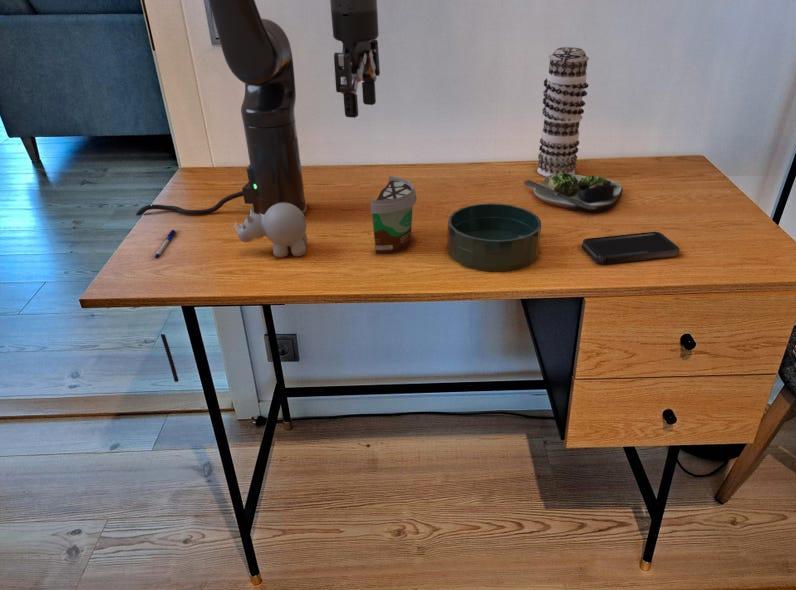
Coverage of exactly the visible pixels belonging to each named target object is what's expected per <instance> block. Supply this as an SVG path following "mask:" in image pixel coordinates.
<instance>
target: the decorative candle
mask: <svg viewBox="0 0 796 590" xmlns="http://www.w3.org/2000/svg"><path fill="white" fill-rule="evenodd" d="M548 59H549V65H548V66H549V67H548V72H547V76H546V78H545V79H544V80H543V86H544V87H545V89H544V90H543V91H542V93H543V97H544V98H542V104H543V105H544V107H543V108H542V117H541V118H542V119H543V128H542V131H541V138H540V139H539V143H540V145H539V148H538V150H539V151H540V152H539V154H538V156H537V159H538V161H537V169H536V170H537V174H539V175H541V176H542V177H545V178H546V177H547V176H549V175H553V174H559V173H561V172H563V173H568V174H575V175H576V169H577V161H578V155H577V153H579V148H578V146H579V145H580V141H579V138H580V137H579V136H580V130H579V129H580V122H581V121H582V120H583V115H582V114H584V113H585V110H584V109H583V107H585V106H586V102H585V101H584V100H583V98H584V97H586V96H588V92H587V91H586V89H587V88H589V86H590V85H589V84H588V83H587V76H588V74H587V68H588V62H589V60H590V57H588V56H587V53H586V52H585V51H584V50H583V49H582V48H579V47H572V46H565V47H558V48H556V49H555V50H554V51H553V52H552V54H551V55H549V56H548Z"/></svg>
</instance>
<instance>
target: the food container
mask: <svg viewBox="0 0 796 590" xmlns="http://www.w3.org/2000/svg"><path fill="white" fill-rule="evenodd" d="M417 200H418V198H417V193H416V190H415V188H414V185H413V184H412V182H411V181H408V180H407V179H404V178H402V177H397V176H390V175H389V176H388V182H387V185H386V186H385V187H383V188H382V190H380V192H379V194H378V196H377V198H376V199H371V200H370V203H371V204H370V214H371V217H372V226H373V227H372V229H373V237H374V247H375V254H376V255H388V254H389V255H391V254H396V253H399V252H402V251H404V250H407V248H409V247H410V246H411V242H412V226H413V208H414V205H415V204H416V203H417Z"/></svg>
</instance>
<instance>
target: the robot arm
mask: <svg viewBox="0 0 796 590" xmlns="http://www.w3.org/2000/svg"><path fill="white" fill-rule="evenodd" d="M208 2H209V7H210V10H211V13H212V17H213V21H214V26H215V28H216V32H217V36H218V40H219V44H220V47H221V51H222V54H223V57H224V60H225V63H226V65H227V66H228V68H229V70H230V72H231V73H232V74H233V76H234V77H236V79H238V80H239V81H240V82H241V83H243V84H244V96H243V100H242V103H241V106H240V113H241V119H242V123H243V124H242V125H243V131H244V137H245V141H246V142H245V143H246V148H247V155H248V161H249V164H248V165H247V167H246V173H247V181H248V182H247V183H245V185H244V186H243V187H242V188H241V191H237V192H235V193H232V194H229V195H226V196H225V197H223V198H221V199H220V200H219V201H218V202H217V203H216V204H215V205H214V206H212V207H209V208H205V209H187V208H182V207H180V206H177V205H176V206H175V205H165V204H147V205H144V206H142V207H141V208H139V209H138V211H137V212H136V213H135V216H142V215H143V214H144V213H145V212H148V211H150V210H151V211H152V210H161V211H173V212H178V213H180V214H183V215H196V216H197V215H208V214H211V213H214V212H217V211H218V210H219V209H221V208H222V207H223V205H225V204H226V203H228V202H229V201H232V200H235V199H237V198H241V197H243V201H244V204H245V205H252V209H253V211H254V212H255V214H259V215H262V216H263V215H265V213H266V212H267V210H268V209H269V208H270V207H271V206H273V205H275V204H278V203H289V204H292V205H294V206H296V207H297V208H299V209H300V210H301V211H302V213H303V214H304V215H305V214H306V212H307V211H308V208H307V207H308V206H307V203H306V196H305V186H304V179H303V170H302V164H301V163H302V161H301V154H300V146H299V138H298V131H297V122H296V115H295V113H296V112H295V110H296V109H295V108H296V107H295V106H296V101H297V92H296V91H297V90H296V80H295V67H294V58H293V51H292V46H291V43H290V39H289V38H288V35H287V34H286V32H285V31H284V30H283V28H282V27H281V25H279V24H277V23H276V22H274V21H273V20H270V19H268V18H262V17H261V15H260V12H259V8H258V7H257V4H256V0H208ZM329 2H330V3H329V4H330V15H331V16H330V17H331V24H332V25H331V26H332V37H333V38H334V40H336V41H338V42H341V43H342V52H334V53H333V65H334V79H335V91H336V93H340V94H342V95H343V109H344V115H345V117H346V118H351V119H353V118H354V119H355V118H357V117H358V116H359V104H358V103H359V102H358V101H359V100H358V94H357V92H358V87H359V83H360V82H361V81H362V82H361V89H362V102H363V104H364V105H365V106H366V105H367V106H374V105H375V104H376V103H377V99H376V98H377V97H376V82H377V77H379V76H380V73H381V69H380V54H379V41H378V38H379V35H380V34H379V16H378V0H329ZM151 205H152V206H151ZM160 338H161V341H162V344H163V347H164V350H165V354H166V357H167V360H168V363H169V366H170V370H171V374H172V377H173V381H174V383H179V380H180V379H179V377H178V372H177V369H176V367H175V362H174V359H173V356H172V353H171V349H170V346H169V343H168V339H167V337H166V334H165V333H164V334H163V333H160Z"/></svg>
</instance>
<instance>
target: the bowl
mask: <svg viewBox="0 0 796 590" xmlns="http://www.w3.org/2000/svg"><path fill="white" fill-rule="evenodd" d="M541 232H542V220H541V218H540V217H539V216H538V214H535V213H534V212H532V211H531V210H529V209H526V208H524V207H521V206H517V205H512V204H506V203H494V202H493V203H489V202H488V203H477V204H476V203H475V204H472V205H467V206H464V207H461V208H458V209H457V210H455V211H453V212H452V213H451V214H450V215H449V216H448V219H447V250H448V254H449V257H451V259H452V260H453V261H455V262H456V263H457V264H459V265H461V266H464V267H467V268H470V269H472V270H477V271H484V272H497V273H498V272H509V271H515V270H519V269H522V268H525V267H527V266H528V265H529V266H530V264H532V263H533V262H534V261H535V260H536V258H537V257H538V253H539V250H540V243H541Z"/></svg>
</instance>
